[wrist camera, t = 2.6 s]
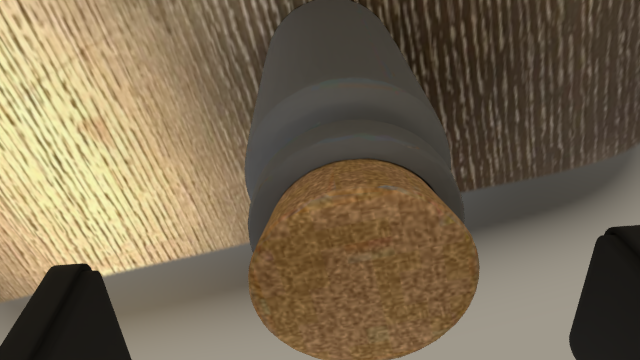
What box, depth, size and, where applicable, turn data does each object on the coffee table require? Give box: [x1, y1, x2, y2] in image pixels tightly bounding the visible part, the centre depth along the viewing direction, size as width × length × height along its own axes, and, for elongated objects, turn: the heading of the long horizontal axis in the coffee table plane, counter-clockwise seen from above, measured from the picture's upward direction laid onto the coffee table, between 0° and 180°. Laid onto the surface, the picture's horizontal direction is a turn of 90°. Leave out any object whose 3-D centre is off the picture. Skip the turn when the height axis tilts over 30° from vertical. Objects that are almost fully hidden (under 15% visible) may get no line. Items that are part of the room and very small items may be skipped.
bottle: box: [245, 0, 479, 360], centre depth 17 cm, size 6×6×15 cm
